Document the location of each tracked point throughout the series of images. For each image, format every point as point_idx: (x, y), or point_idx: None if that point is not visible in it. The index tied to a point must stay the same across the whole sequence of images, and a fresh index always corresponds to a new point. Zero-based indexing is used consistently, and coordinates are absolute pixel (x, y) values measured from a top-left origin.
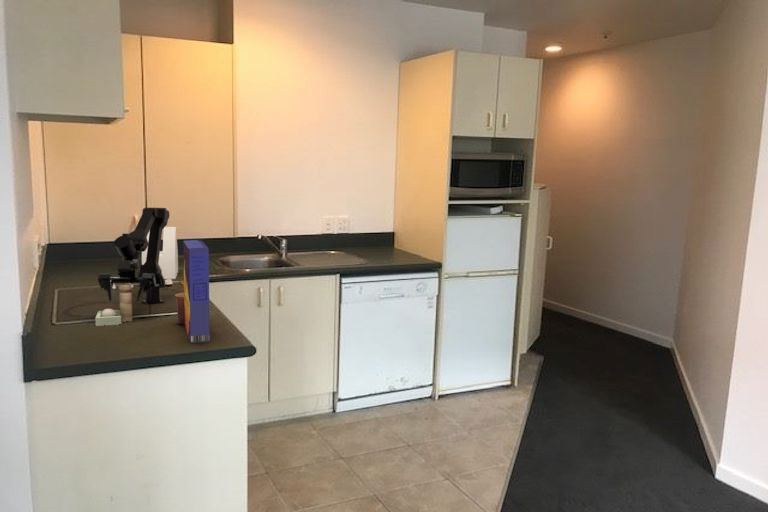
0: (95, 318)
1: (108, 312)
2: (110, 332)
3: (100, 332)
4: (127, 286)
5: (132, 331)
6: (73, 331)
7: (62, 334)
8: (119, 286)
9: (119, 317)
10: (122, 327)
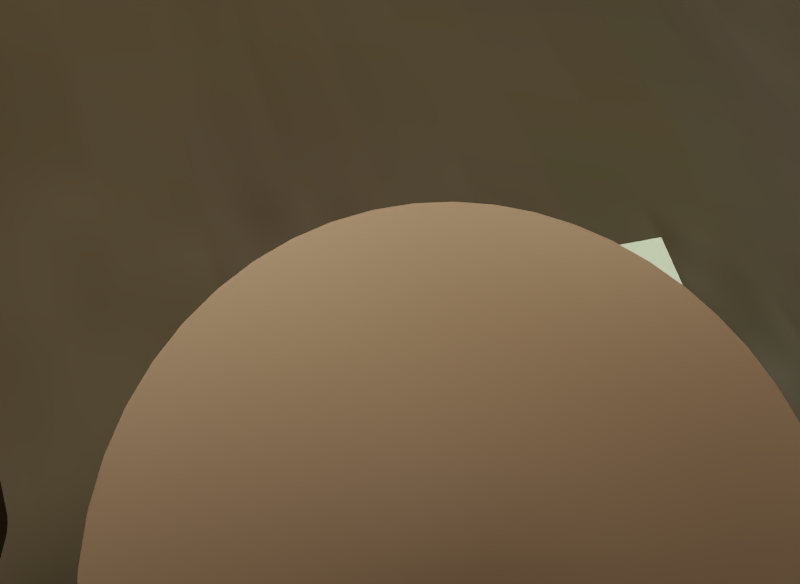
0: (655, 240)
1: None
2: (339, 27)
3: (439, 37)
4: (269, 269)
5: (110, 37)
6: (706, 94)
7: (735, 13)
8: (696, 362)
9: None
10: (272, 208)
